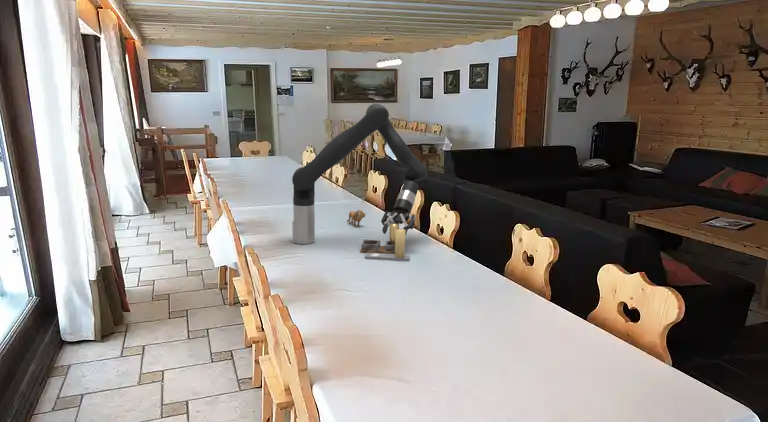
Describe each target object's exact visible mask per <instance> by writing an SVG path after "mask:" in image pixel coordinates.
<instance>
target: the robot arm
mask: <svg viewBox="0 0 768 422" xmlns="http://www.w3.org/2000/svg"><path fill="white" fill-rule="evenodd" d="M389 117H390V114H389V111H388V109H387V108H386V107H385V106H384V105H382V104H379V103H373V104H370V105H368V107H367V109H366V112H365V115H364V116H363V117H362V118H361V119H360V120H359V121H358V122H357V123H355V124H354V125H352V126H350V127H349V128H347V129H345V130H343V131H342V132H340V133H339V134H338V135H336V136H335V137H333V138H332V139H331V140H330V141H329V142H328V143H327V144H326V145H325V146H324V147H323V148H322V149H321V150H320V152H319V153H318V154H317V155H316V156H315V157H314V158H313V159H312V160H311V161H310V162H308V163H307V164H306V165H304V166H301V167H298V168H297V169H296V170H295V171H294V173H293V174H292V177H291V178H292V179H291V181H292V184H293V197H292V202H293V206H292V207H293V209H292V210H293V221H292V223H291V224H292V226H291V227H292V228H291V229H292V243H294V244H298V245H308V244H313V243H315V242H316V239H315V238H316V234H315V232H316V229H315V227H316V223H315V218H316V216H315V214H316V213H315V212H316V211H315V195H316V193H315V189H316V188H315V185H316V184H315V183H316V182H317V181H318V180H319V179H320V178H321V176H323V175H324V174H325V173H326V172H327V171H329V170H330V169H332V168H333V167H334V166H335V165H337V164H338V163H340V162H341V161H342V160H343V159H345V158H346V157H347V156H348V155H350V154H351V153H352V152H353V151H354V150H355V149H356V148H358V146H360V145H361V143H363V141H365V140H366V139H367V138H368V137H369V136H370V135H372V134H373V133H374V132H376V131H378V133H380V135H381V136H382V137H383V139H384V141H385V143H386V144H387V145H388V148H389V149H390V150H391V152H392V154H393V155H394V157H395V158H396V160H397V161H398V163H399V165H401V166H404V167H405V166H406V167H407V168H406V169H405V171H404V173H403V182H402V187H401V189H400V191H399V193H398V195H397V198H396V202H395V204H394V207H393V211H391V212H389V211H388V210H384V214H383V216H382V218H381V220H380V223H381V224H382V230H381V231H382V234H383V235H386V234H387V232H388V229H389V227H390V223H399V225H400V224H401V225H402V224H403V225H404V226H403V227H402V229H404V230H405V236H407V233H408V230H409V229H410V230H413V229H414V226H415V222H416V219H417V217H416V216H415V213H413V214H411V212H412V210H413V206H414V204H415V202H416V197H417V194H418V192H419V185H418V183H417V182H419V181H421V180H423V179H426V178H427V176H428V169H427V167H426V166H425V164H424V163H423V162H422V161H421V160H420V159H419V158H418V157H417V156H415V155H414V154H413V152H412V151H411V150H410V148H409V146H408V144H406V142H405V141H404V140H403V138H402V136H400V134H399V133H398V132H397V131H396V129H395V127H394V126H393V125H392V123H391V121H390V119H389ZM408 220H409V223H407V221H408Z"/></svg>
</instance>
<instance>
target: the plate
mask: <svg viewBox="0 0 768 422" xmlns="http://www.w3.org/2000/svg"><path fill="white" fill-rule="evenodd" d="M405 252H406V235H405V230H404V229H403V228H399V229H396V230H395V254H381V253H365V254H364V259H365V260H377V261H378V260H380V261H397V262H398V261H400V262H401V261H402V262H403V261H405V262H410V257H411V255H410V254H406V253H405Z"/></svg>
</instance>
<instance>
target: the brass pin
mask: <svg viewBox="0 0 768 422" xmlns="http://www.w3.org/2000/svg"><path fill="white" fill-rule="evenodd" d="M396 229H400V224H399V223H390V226H389V241H390V245H395V230H396Z"/></svg>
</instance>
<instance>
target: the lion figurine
mask: <svg viewBox="0 0 768 422" xmlns="http://www.w3.org/2000/svg"><path fill="white" fill-rule="evenodd" d="M366 216H367V213H365V212H364V211H363V209H358V210H356V211H354V210H350V211H349V213H348V219H347V220H346V222H348V225H351V224H352V223H353V228H357V226H358V227H361V225H360V222H361V221H362V220H363V219H364V218H365V217H366Z"/></svg>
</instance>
